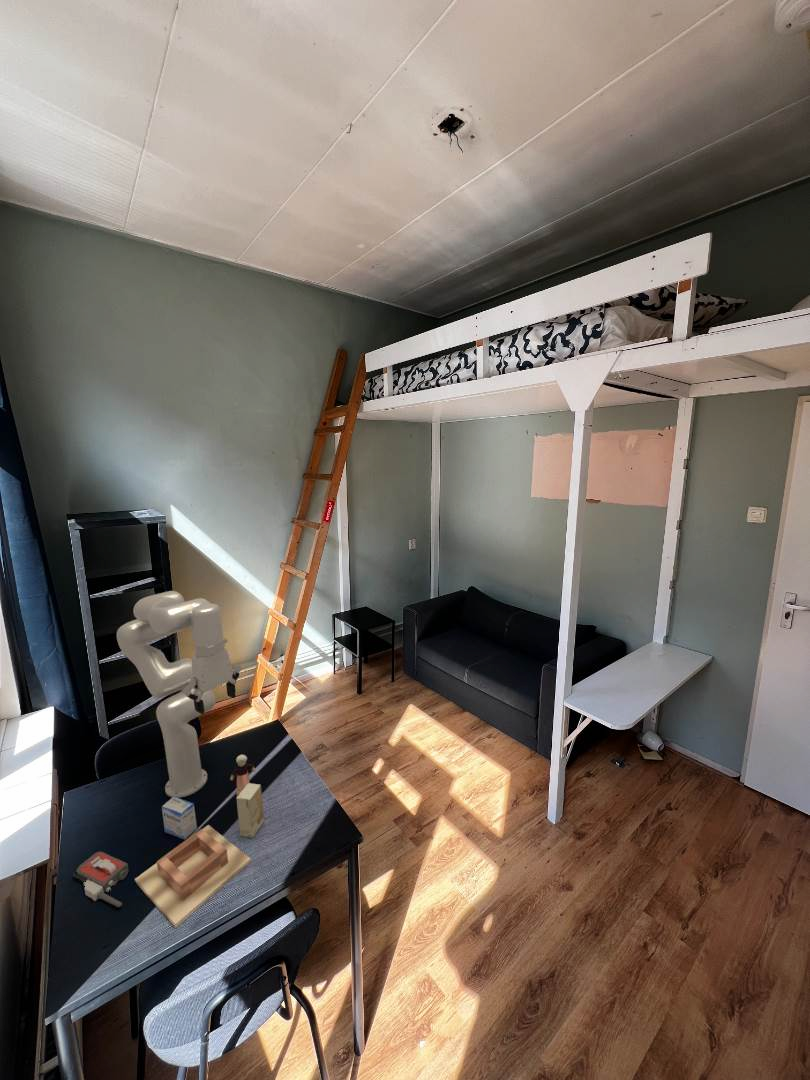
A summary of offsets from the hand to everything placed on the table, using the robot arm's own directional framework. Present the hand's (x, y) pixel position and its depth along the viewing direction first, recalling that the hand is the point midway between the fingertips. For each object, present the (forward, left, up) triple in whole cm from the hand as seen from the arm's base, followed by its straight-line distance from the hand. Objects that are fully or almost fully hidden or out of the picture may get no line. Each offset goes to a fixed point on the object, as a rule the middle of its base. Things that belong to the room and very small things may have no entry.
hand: (216, 704), depth 124 cm
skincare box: (+10, +1, -37) cm, 38 cm away
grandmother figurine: (-5, +9, -37) cm, 38 cm away
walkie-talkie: (-7, -30, -37) cm, 48 cm away
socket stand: (+9, -16, -37) cm, 41 cm away
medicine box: (-7, -11, -37) cm, 39 cm away
